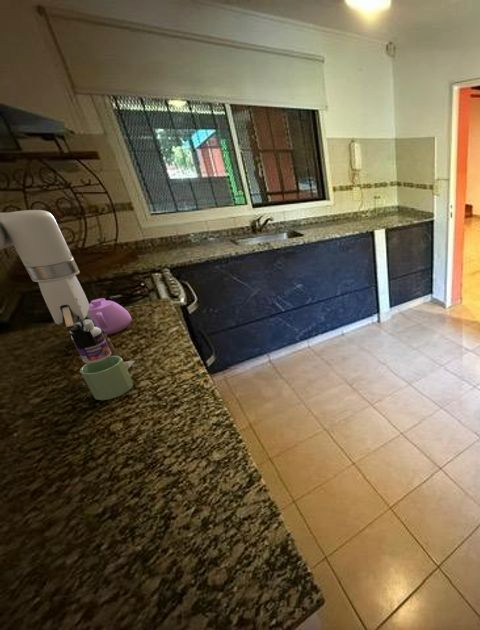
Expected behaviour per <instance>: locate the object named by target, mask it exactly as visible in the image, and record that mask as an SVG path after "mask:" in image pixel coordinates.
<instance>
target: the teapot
mask: <svg viewBox="0 0 480 630" xmlns="http://www.w3.org/2000/svg"><path fill="white" fill-rule="evenodd" d="M88 312H89V314H90V315H91V317H92V320H93V321H94V323H95V325H96V327H98V328H100V329H101V330H104V332H105V334H106V335H107V336H109V335H113V334H115V333H119V332H121V331H123V330H125V329H126V328H128V327H129V326H130V324H131V322H132V316H131V314H130V312H129V311H128V310H127V309H125V308H124V307H123V306H122V305H120V304H119V303H117V302H116V301H113V300H109V299H107V300H106V298H105V297H99V298H96V299H93V300H90V302H89V310H88Z"/></svg>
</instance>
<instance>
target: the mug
mask: <svg viewBox="0 0 480 630" xmlns="http://www.w3.org/2000/svg"><path fill="white" fill-rule="evenodd" d="M124 362H125V361H124V360H123V358H122V356H119V355H118V356H109V357H108V358H106V359H104V360H102V361H99V362H95V363H85V364H84V365H83V366H82V367H80V368H79V373H80V376H81V377H82V380H83V381H84V382H85V384H86V387H87V388H88V391H89V392H90V394H91V396H92V397H93V398H94V400H97V401H106V400H112V399H115V398H117V397H120V396H123V395H124V394H125V393H128V392H129V391H130V390H132V388H133V386H134V382H133V380H132V376H131V375H130V373H129V371H128V370H129V369H128V370H127V368H126V366H125V364H124Z"/></svg>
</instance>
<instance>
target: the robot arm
mask: <svg viewBox="0 0 480 630" xmlns="http://www.w3.org/2000/svg"><path fill="white" fill-rule="evenodd" d="M8 247H14V249H15V251H16V253H17V254H18V256H19V259H20V260H21V262H22V264H23V265H24V267H25V269H26V271H27V273H28V275H29V277H30V279H31V280H32V282H34V283H35V282H36V283H38V286H39V290H40V292H41V295H42V297H43V300H44V302H45V304H46V307H47V309H48V311H49V314H50V315H51V317H52V320H53V321H54V323H55V324H56V325H58V326H61V325H62V324H63V323H65V327H66V328H67V329H68V332H69V334H70V337H71V336H72V338H73V339H74V341H75V343H76V345H77V347H78V349H84V348H88V347H92V346H96V341H95V339H94V337H93V335H92V333H91V331H90V330H88V329H87V327H86V324H85V321H84V320H85V319H90V320H92V317H91V315H90V314H89V312H88V310H89V304H90V302H89V300H88V298H87V295H86V293H85V291H84V290H83V289H84V288H83V287H82V285H81V283H80V281H79V280H78V277H77V275H79V274H80V269H79V267H78V265H77V263H76V261H75V258H74V256H73V255H72V252H71V250H70V248H69V246H68V244H67V242H66V240H65V237H64V236H63V233H62V231H61V228H60V227H59V225H58V223H57V220H56V218H55V216H54V215H53V214H52V213H51V212H50V211H47V210H42V209H26V210H25V209H24V210H17V211H16V210H15V211H11V212H0V251H1V250H4V249H6V248H8ZM92 321H93V320H92ZM76 322H80V323H81V325H79V324H76ZM93 323H94V321H93ZM94 327H96V325H95V323H94Z"/></svg>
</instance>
